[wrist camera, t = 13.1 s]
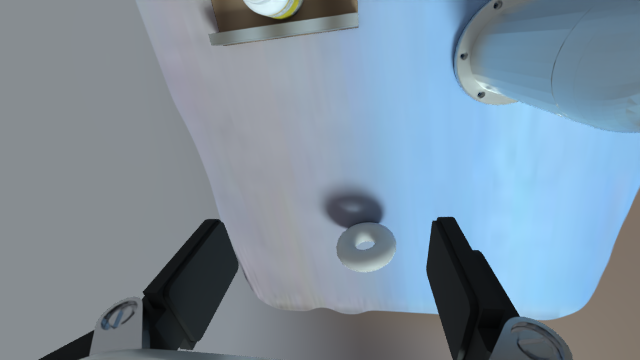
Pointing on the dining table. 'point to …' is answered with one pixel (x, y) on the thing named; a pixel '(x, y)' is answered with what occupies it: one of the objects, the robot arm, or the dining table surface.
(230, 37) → the track
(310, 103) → the dining table surface
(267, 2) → the supplement bottle
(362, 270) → the donut
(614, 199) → the dining table surface
